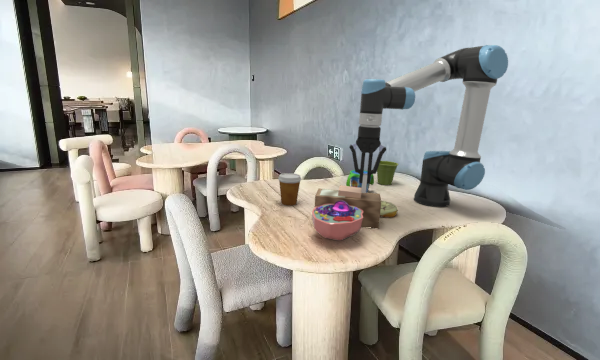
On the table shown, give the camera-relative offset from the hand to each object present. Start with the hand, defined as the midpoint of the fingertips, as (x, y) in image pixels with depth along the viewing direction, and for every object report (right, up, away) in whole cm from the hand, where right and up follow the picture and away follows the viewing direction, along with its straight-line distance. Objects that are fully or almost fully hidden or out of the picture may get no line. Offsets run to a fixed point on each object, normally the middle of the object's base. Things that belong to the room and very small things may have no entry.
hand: (363, 191), depth 125 cm
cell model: (-11, -14, -10) cm, 21 cm away
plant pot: (+22, +2, +59) cm, 63 cm away
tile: (-1, 0, 0) cm, 1 cm away
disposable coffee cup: (-28, -6, +21) cm, 35 cm away
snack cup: (+5, -2, +40) cm, 40 cm away
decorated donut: (+10, -9, +14) cm, 19 cm away
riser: (-6, -11, +4) cm, 13 cm away
